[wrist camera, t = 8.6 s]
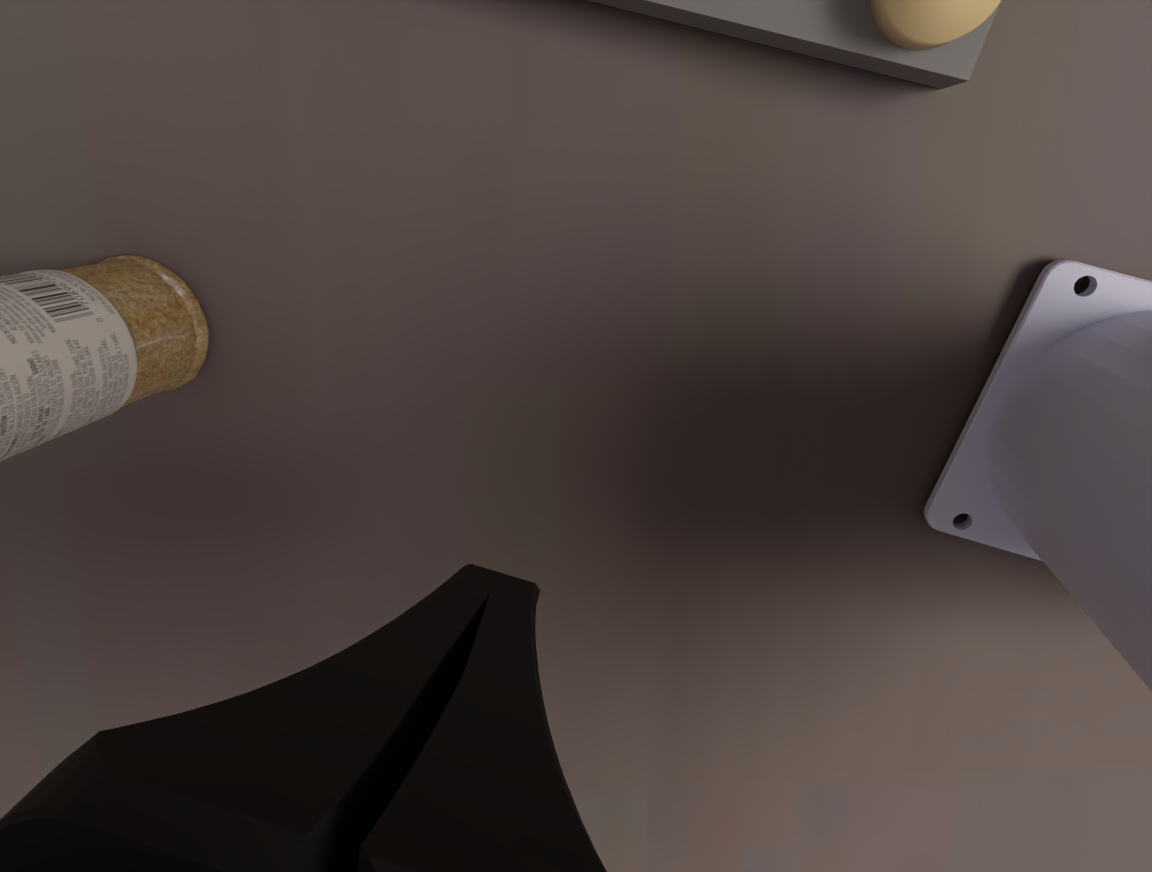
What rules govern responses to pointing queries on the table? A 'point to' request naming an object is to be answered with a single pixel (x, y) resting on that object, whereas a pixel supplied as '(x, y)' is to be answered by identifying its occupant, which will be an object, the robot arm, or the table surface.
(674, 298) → the table surface
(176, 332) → the sprinkles bottle
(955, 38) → the levelling base
